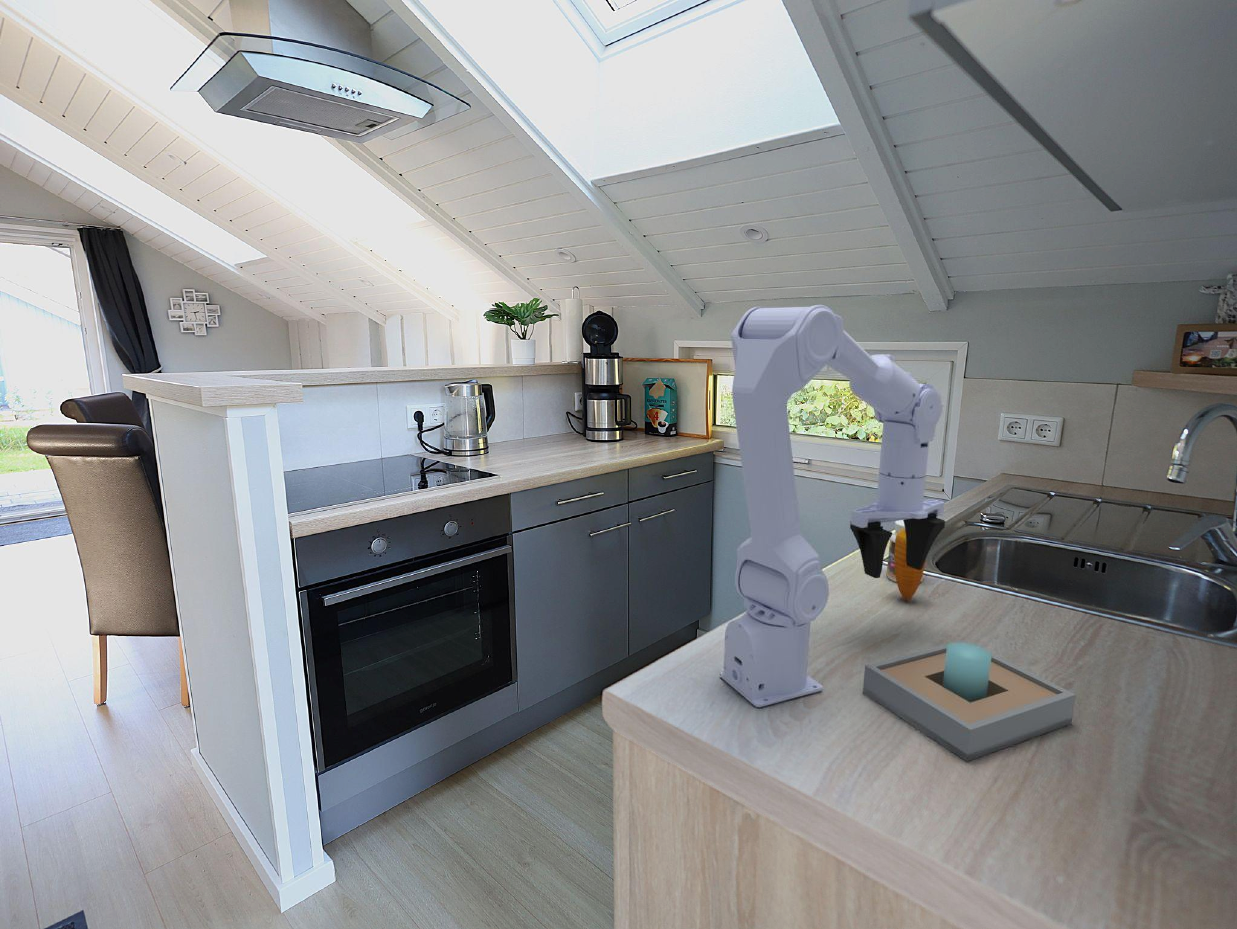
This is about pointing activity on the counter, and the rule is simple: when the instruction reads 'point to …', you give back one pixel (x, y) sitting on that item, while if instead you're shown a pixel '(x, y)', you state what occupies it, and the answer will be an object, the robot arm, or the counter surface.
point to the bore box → (960, 726)
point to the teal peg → (967, 671)
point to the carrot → (905, 569)
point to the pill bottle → (890, 566)
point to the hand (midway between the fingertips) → (893, 571)
